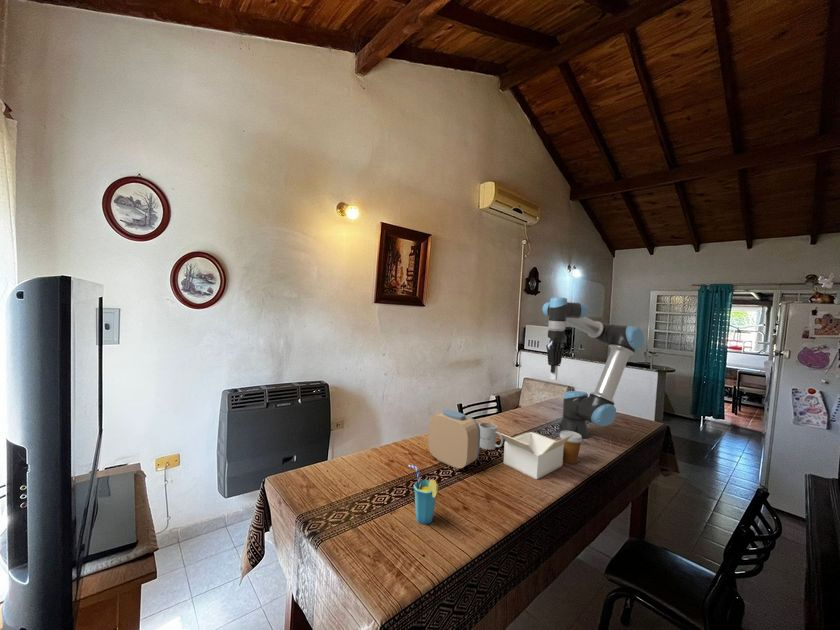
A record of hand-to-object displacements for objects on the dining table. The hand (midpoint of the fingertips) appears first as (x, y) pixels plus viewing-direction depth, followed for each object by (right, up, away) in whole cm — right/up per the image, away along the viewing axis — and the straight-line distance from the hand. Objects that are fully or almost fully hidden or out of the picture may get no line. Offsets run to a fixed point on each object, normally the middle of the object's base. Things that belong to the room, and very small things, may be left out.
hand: (553, 379), depth 158 cm
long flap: (-8, -22, -23) cm, 33 cm away
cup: (-63, -34, -53) cm, 89 cm away
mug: (-30, -33, +1) cm, 45 cm away
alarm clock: (-50, -33, -16) cm, 62 cm away
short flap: (-24, -22, -23) cm, 39 cm away
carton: (-15, -34, -14) cm, 40 cm away
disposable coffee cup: (+4, -35, -8) cm, 36 cm away
